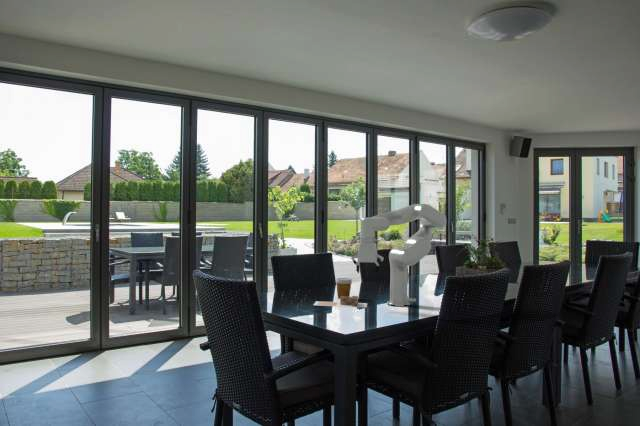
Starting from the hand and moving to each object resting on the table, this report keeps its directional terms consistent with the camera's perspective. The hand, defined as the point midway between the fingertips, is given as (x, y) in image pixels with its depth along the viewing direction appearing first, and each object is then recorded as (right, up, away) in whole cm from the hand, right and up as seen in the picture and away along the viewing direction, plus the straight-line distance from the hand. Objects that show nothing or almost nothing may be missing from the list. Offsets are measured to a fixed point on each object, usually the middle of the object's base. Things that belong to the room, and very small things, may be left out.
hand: (367, 273), depth 258 cm
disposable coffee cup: (-12, -18, +21) cm, 31 cm away
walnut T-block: (-9, -17, +1) cm, 19 cm away
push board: (-14, -18, +2) cm, 23 cm away
